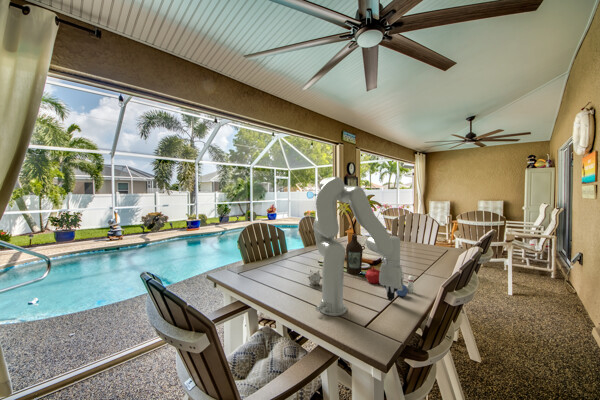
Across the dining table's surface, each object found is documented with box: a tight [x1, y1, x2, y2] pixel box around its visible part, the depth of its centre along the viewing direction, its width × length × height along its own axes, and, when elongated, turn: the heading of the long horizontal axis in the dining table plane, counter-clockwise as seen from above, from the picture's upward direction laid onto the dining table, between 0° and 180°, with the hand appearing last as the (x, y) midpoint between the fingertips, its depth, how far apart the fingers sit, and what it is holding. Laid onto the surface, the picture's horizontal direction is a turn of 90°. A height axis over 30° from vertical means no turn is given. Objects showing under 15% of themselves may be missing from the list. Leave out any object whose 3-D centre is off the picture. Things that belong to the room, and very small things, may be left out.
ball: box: [395, 284, 409, 297], centre depth 122 cm, size 6×6×6 cm
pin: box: [407, 275, 414, 294], centre depth 126 cm, size 2×2×8 cm
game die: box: [307, 269, 322, 286], centre depth 136 cm, size 9×8×10 cm
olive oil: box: [345, 233, 363, 276], centre depth 155 cm, size 11×11×25 cm
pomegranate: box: [365, 265, 380, 284], centre depth 140 cm, size 10×10×9 cm
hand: (390, 299), depth 115 cm, fingers closed
